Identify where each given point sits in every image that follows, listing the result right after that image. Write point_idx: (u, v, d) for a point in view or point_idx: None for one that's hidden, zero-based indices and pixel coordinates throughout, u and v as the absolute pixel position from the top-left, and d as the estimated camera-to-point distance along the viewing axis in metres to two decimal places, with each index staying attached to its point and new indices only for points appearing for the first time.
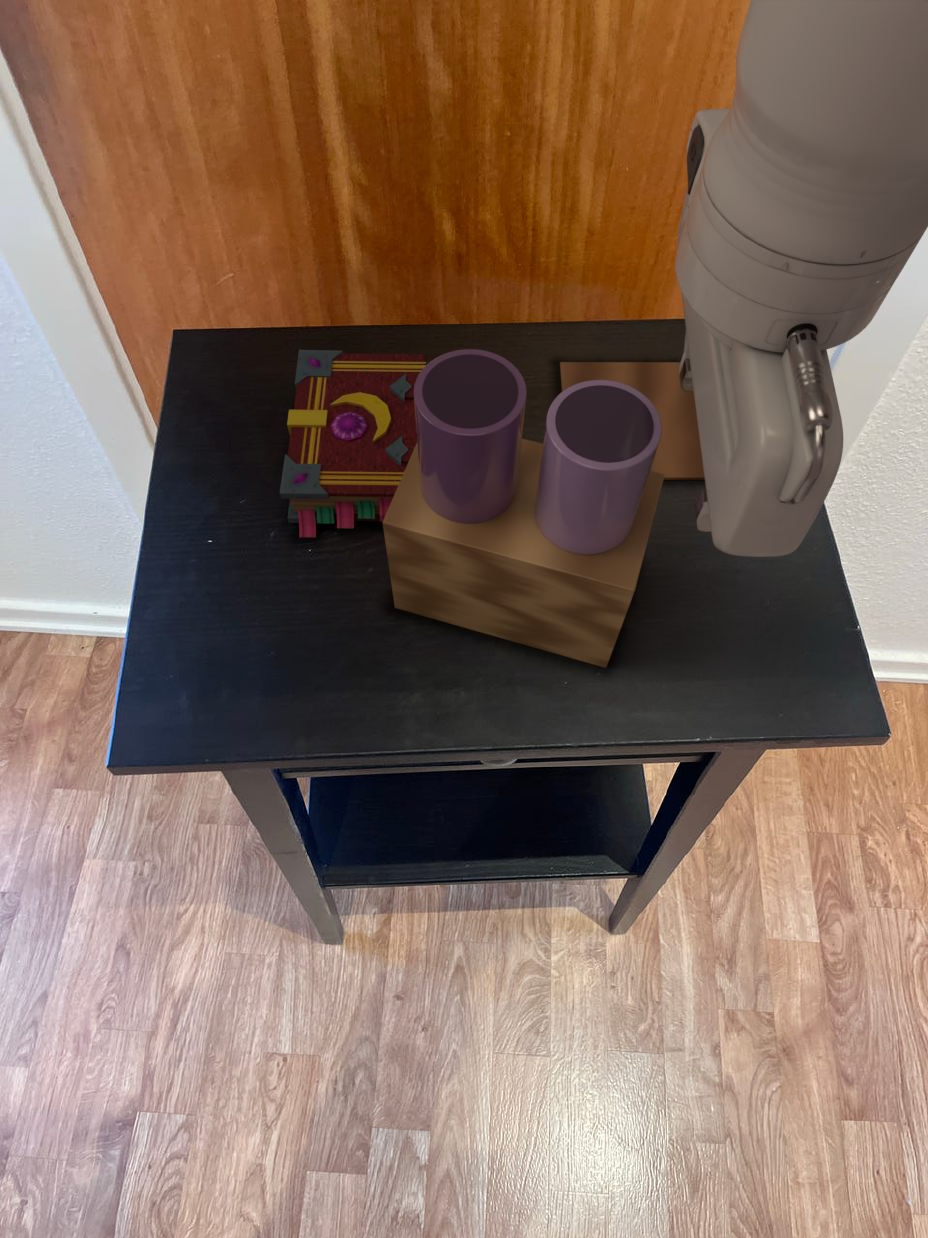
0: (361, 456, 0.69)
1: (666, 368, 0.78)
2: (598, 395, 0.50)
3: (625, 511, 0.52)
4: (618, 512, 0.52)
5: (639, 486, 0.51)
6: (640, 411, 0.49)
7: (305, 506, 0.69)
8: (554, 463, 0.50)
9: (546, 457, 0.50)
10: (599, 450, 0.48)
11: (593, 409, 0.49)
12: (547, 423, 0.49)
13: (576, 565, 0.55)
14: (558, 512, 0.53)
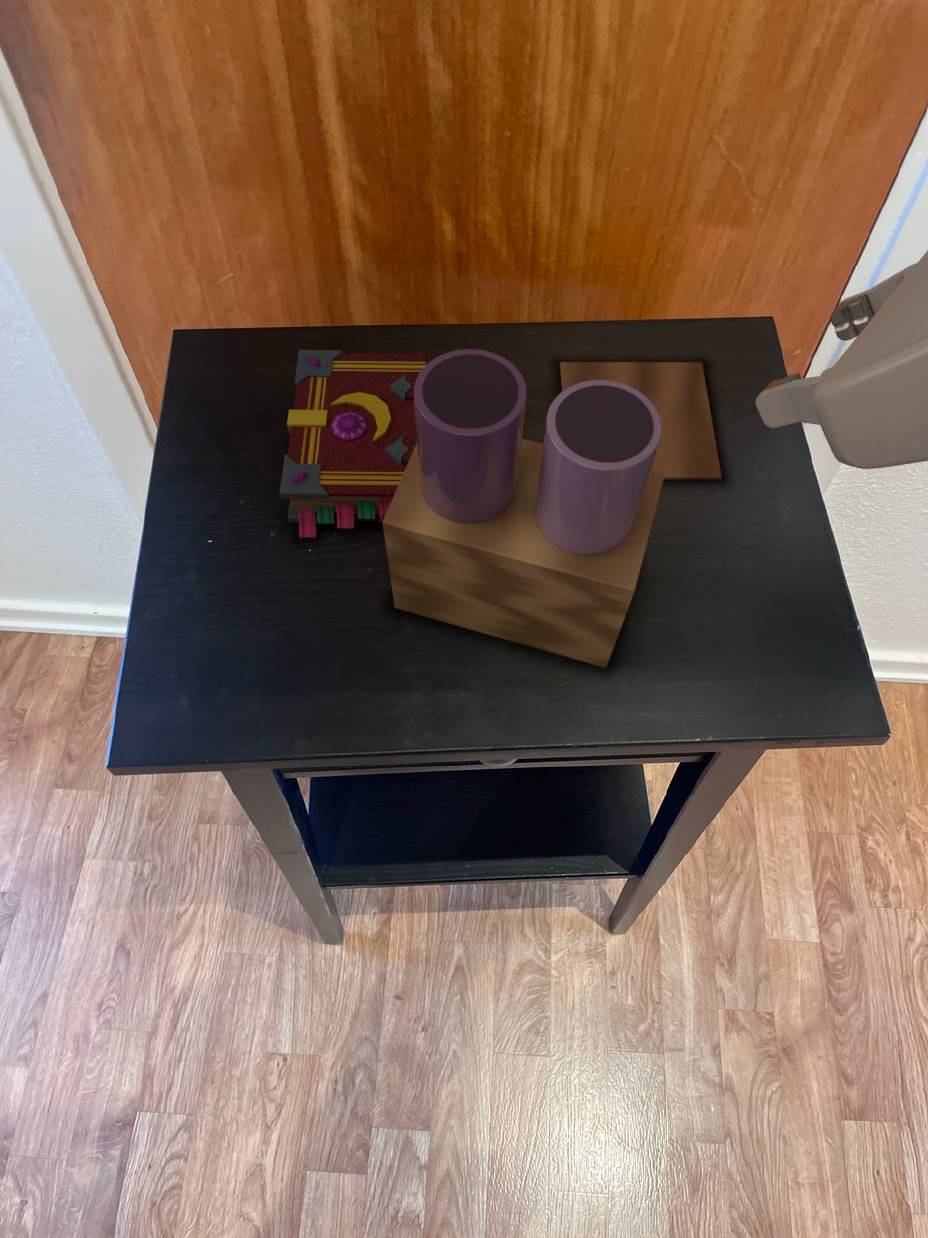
0: (361, 456, 0.69)
1: (666, 368, 0.78)
2: (598, 395, 0.50)
3: (625, 511, 0.52)
4: (618, 512, 0.52)
5: (639, 486, 0.51)
6: (640, 411, 0.49)
7: (305, 506, 0.69)
8: (554, 463, 0.50)
9: (546, 457, 0.50)
10: (599, 450, 0.48)
11: (593, 409, 0.49)
12: (547, 423, 0.49)
13: (576, 565, 0.55)
14: (558, 512, 0.53)
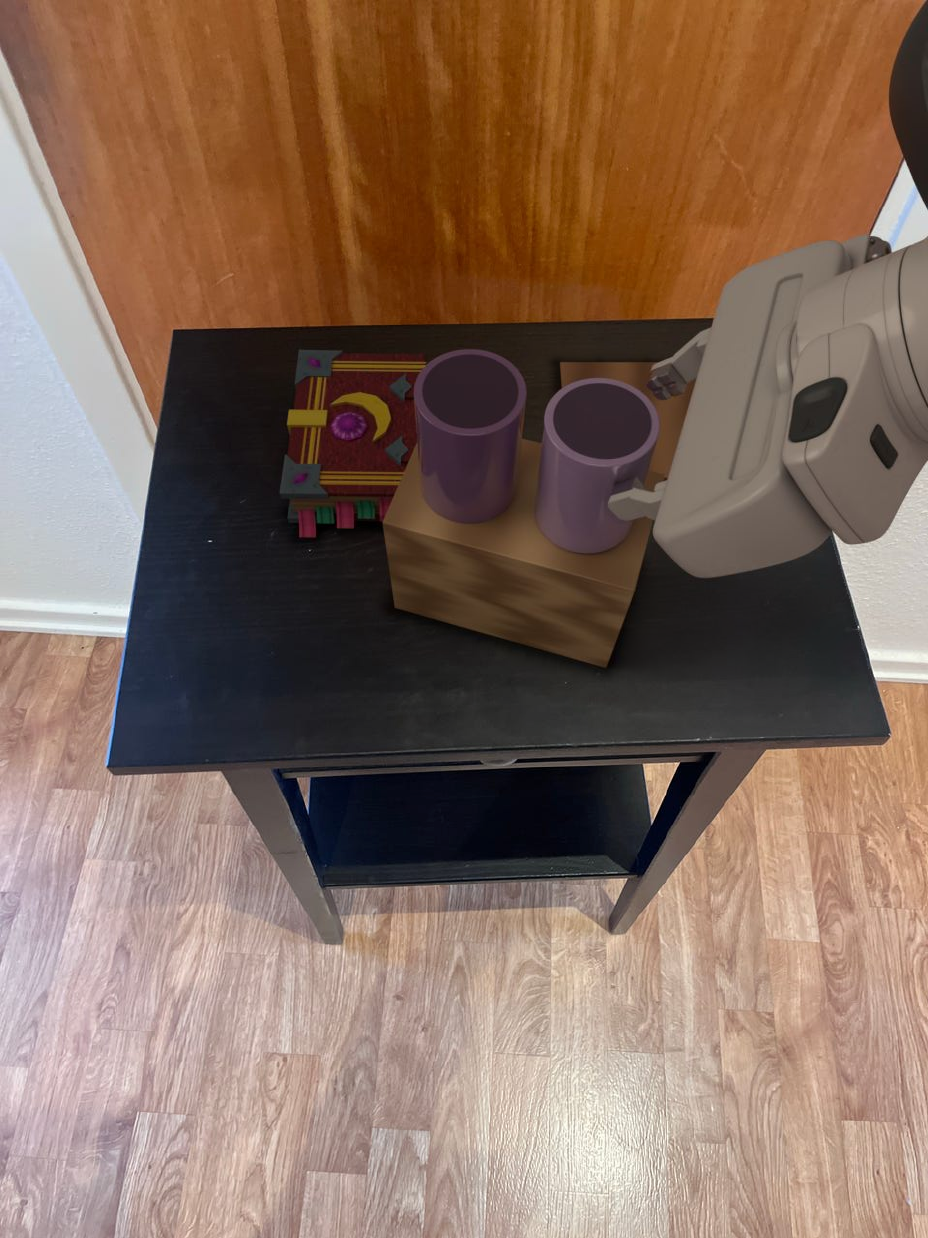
0: (361, 456, 0.69)
1: None
2: (595, 393, 0.50)
3: None
4: None
5: None
6: (638, 408, 0.49)
7: (305, 506, 0.69)
8: (552, 461, 0.50)
9: (544, 455, 0.50)
10: (597, 447, 0.48)
11: (591, 406, 0.49)
12: (545, 421, 0.49)
13: (576, 565, 0.55)
14: (558, 511, 0.53)
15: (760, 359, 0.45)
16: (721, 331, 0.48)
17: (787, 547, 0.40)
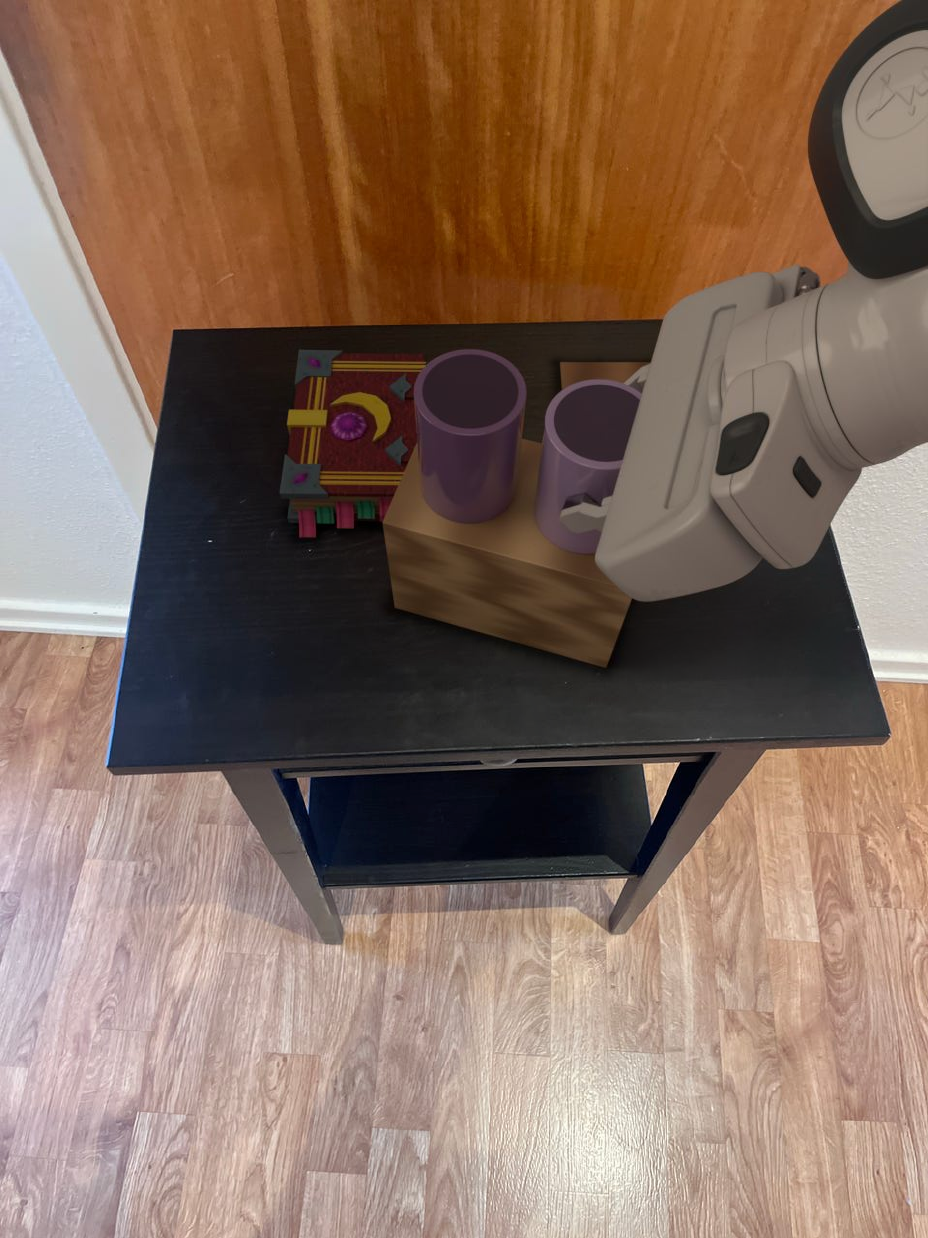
0: (361, 456, 0.69)
1: None
2: (597, 394, 0.50)
3: None
4: None
5: None
6: None
7: (305, 506, 0.69)
8: (552, 462, 0.50)
9: (544, 456, 0.50)
10: (597, 449, 0.48)
11: (592, 408, 0.49)
12: (546, 422, 0.49)
13: (576, 565, 0.55)
14: (557, 511, 0.53)
15: (696, 389, 0.46)
16: (661, 360, 0.50)
17: (720, 573, 0.42)
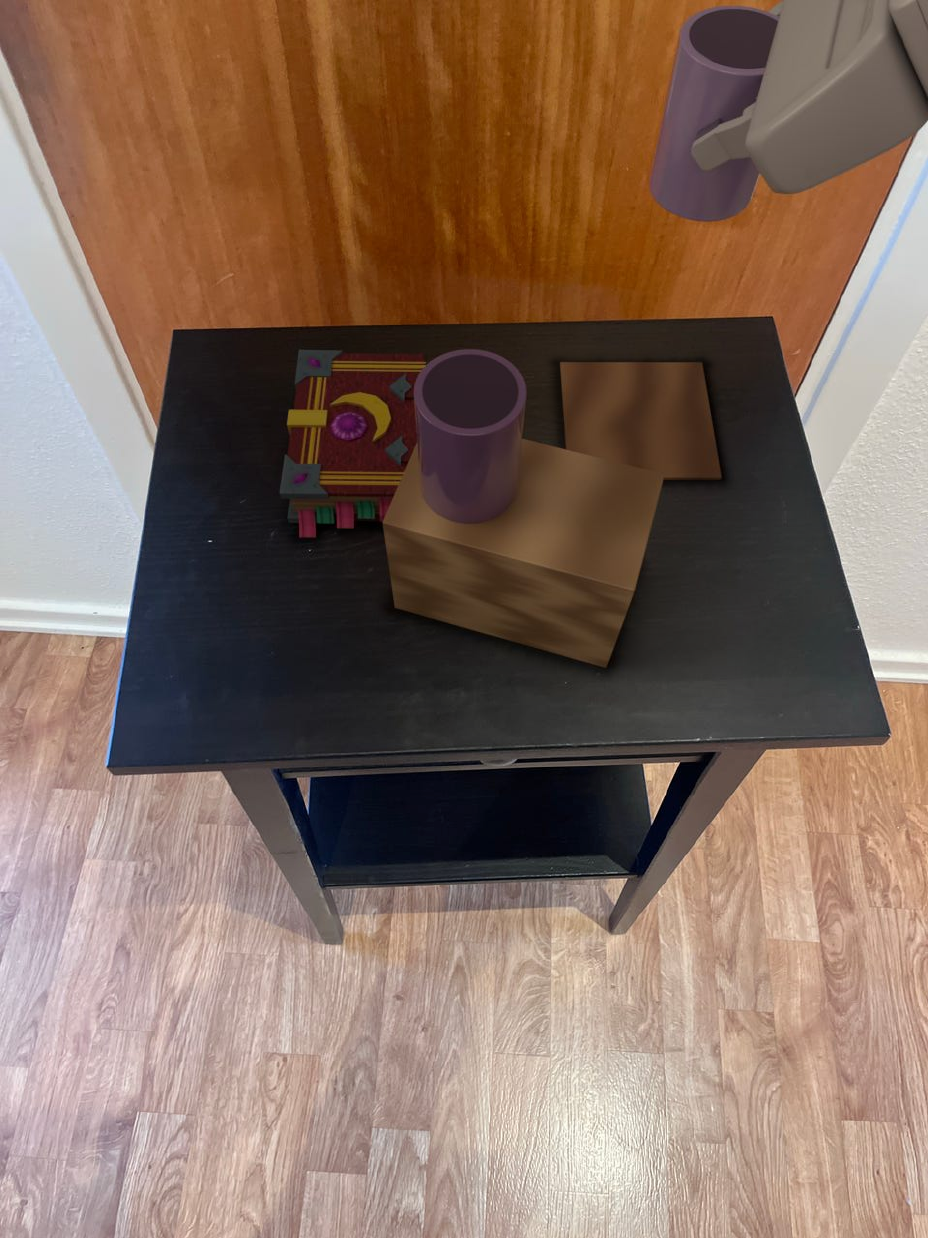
0: (361, 456, 0.69)
1: (666, 368, 0.78)
2: (732, 17, 0.48)
3: None
4: None
5: None
6: None
7: (305, 506, 0.69)
8: (686, 83, 0.47)
9: (676, 83, 0.48)
10: (737, 59, 0.46)
11: (728, 26, 0.47)
12: (681, 38, 0.47)
13: (576, 565, 0.55)
14: (682, 159, 0.51)
15: None
16: None
17: (888, 129, 0.40)
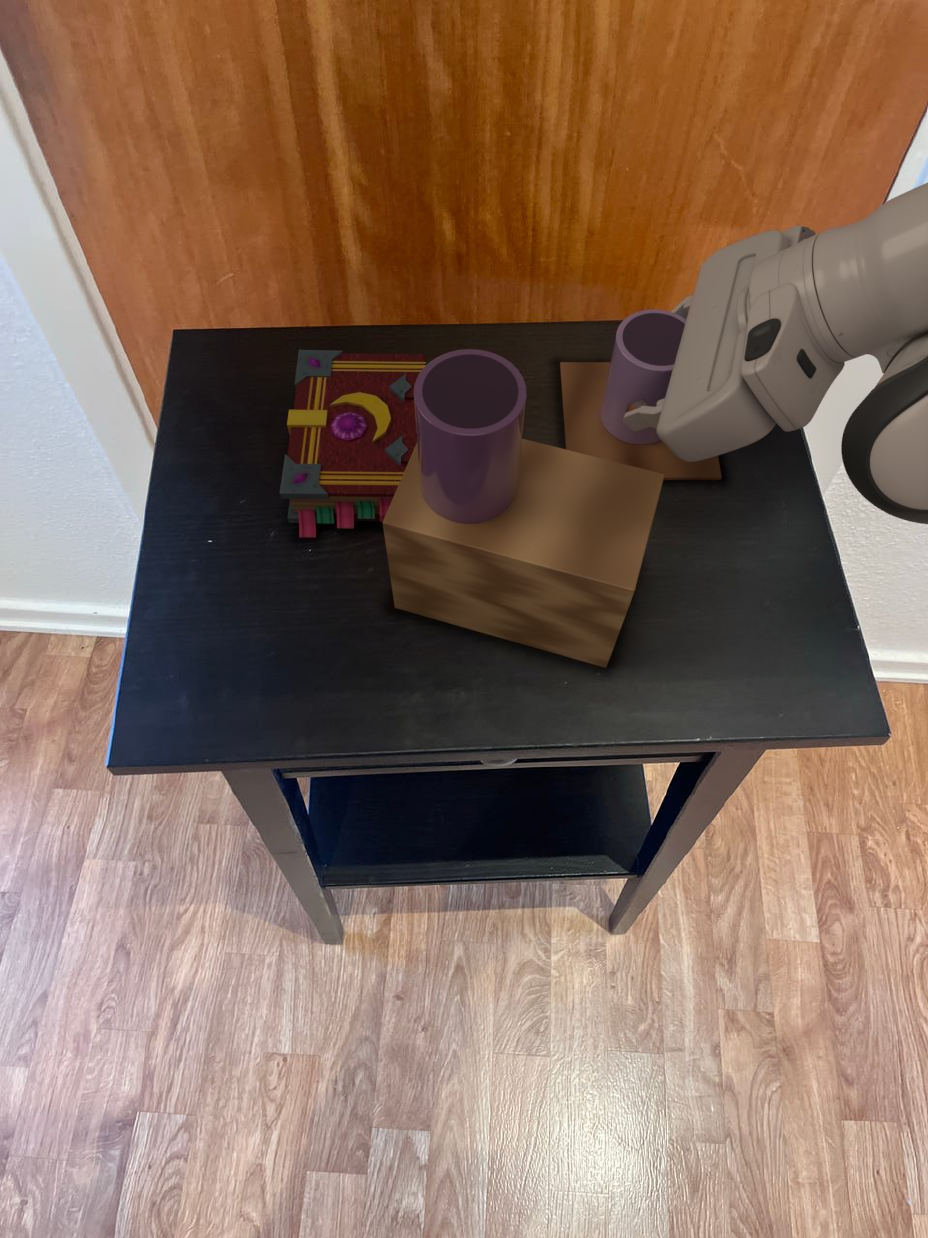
0: (361, 456, 0.69)
1: None
2: (653, 320, 0.69)
3: None
4: None
5: None
6: None
7: (305, 506, 0.69)
8: (621, 368, 0.68)
9: (614, 365, 0.69)
10: (654, 357, 0.67)
11: (650, 329, 0.68)
12: (616, 338, 0.68)
13: (576, 565, 0.55)
14: (621, 409, 0.71)
15: (727, 312, 0.65)
16: (700, 295, 0.68)
17: (746, 434, 0.60)
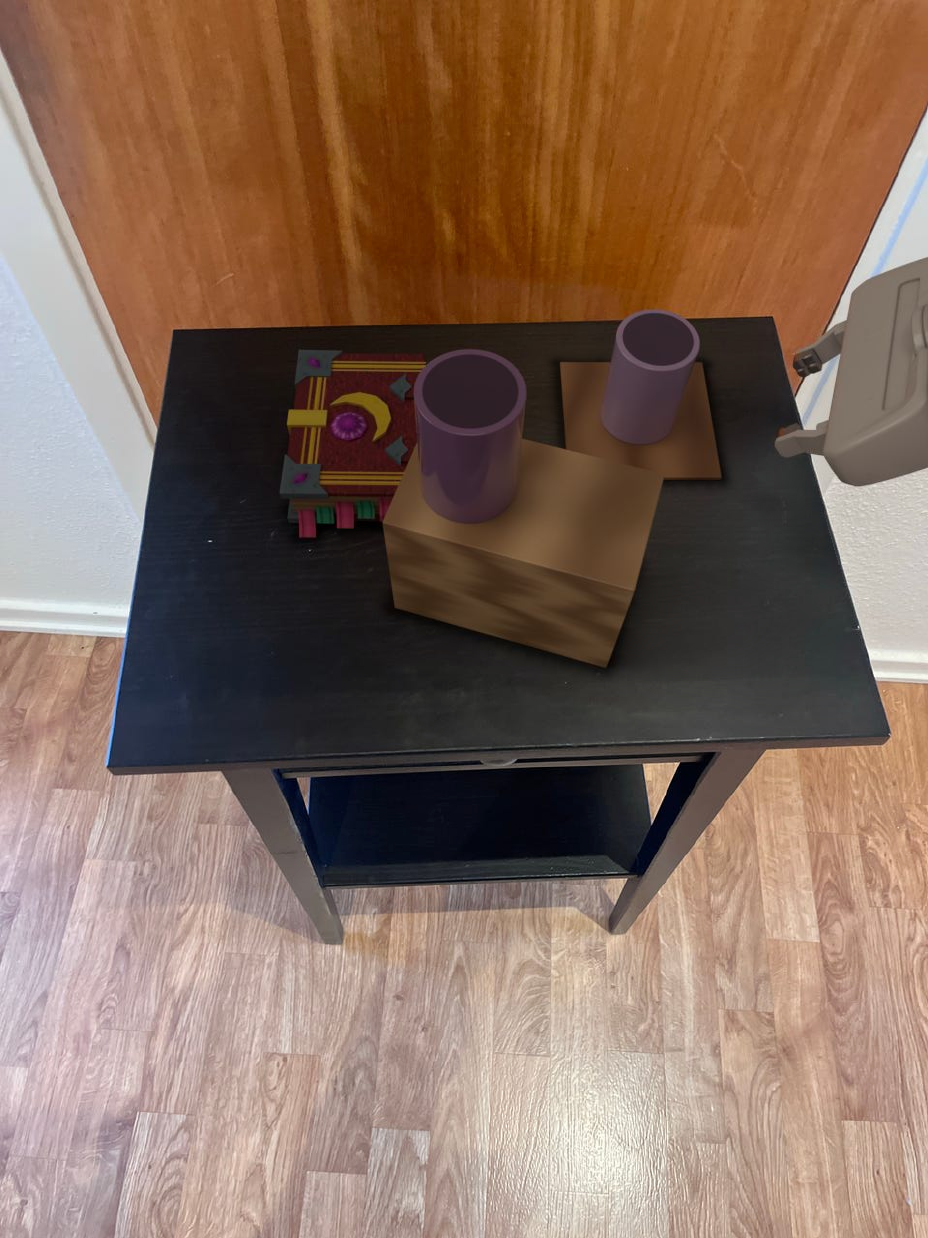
0: (360, 456, 0.69)
1: None
2: (653, 320, 0.69)
3: (670, 408, 0.71)
4: (665, 408, 0.70)
5: (682, 387, 0.69)
6: (684, 331, 0.68)
7: (305, 506, 0.69)
8: (621, 368, 0.68)
9: (614, 365, 0.69)
10: (654, 357, 0.67)
11: (650, 329, 0.68)
12: (616, 338, 0.68)
13: (576, 565, 0.55)
14: (621, 409, 0.71)
15: (893, 335, 0.62)
16: (857, 320, 0.65)
17: (927, 456, 0.56)
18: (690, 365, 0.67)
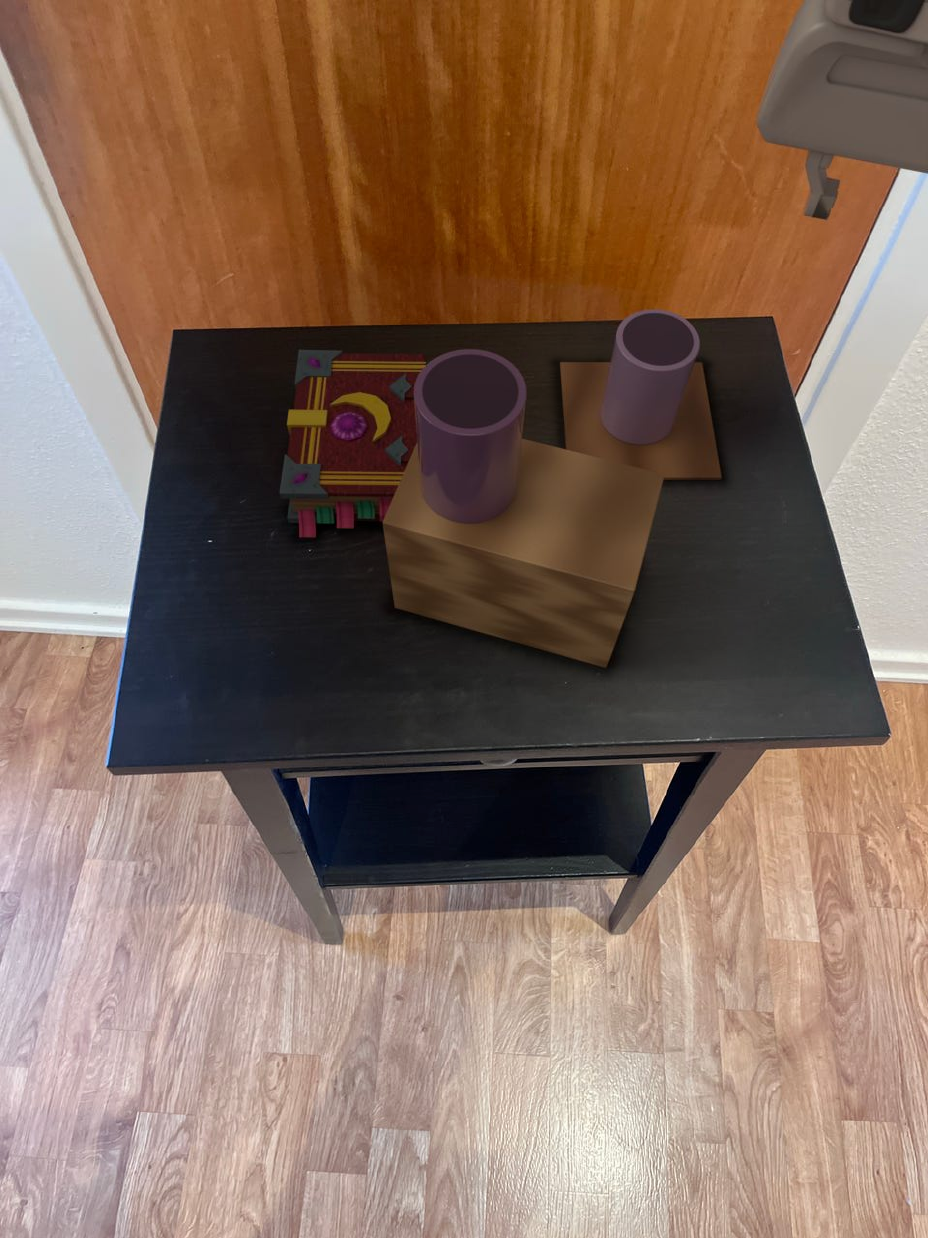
0: (360, 456, 0.69)
1: None
2: (653, 320, 0.69)
3: (670, 408, 0.71)
4: (665, 408, 0.70)
5: (682, 387, 0.69)
6: (684, 331, 0.68)
7: (305, 506, 0.69)
8: (621, 368, 0.68)
9: (614, 365, 0.69)
10: (654, 357, 0.67)
11: (650, 329, 0.68)
12: (616, 338, 0.68)
13: (576, 565, 0.55)
14: (621, 409, 0.71)
15: None
16: None
17: (796, 32, 0.45)
18: (690, 365, 0.67)
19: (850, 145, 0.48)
